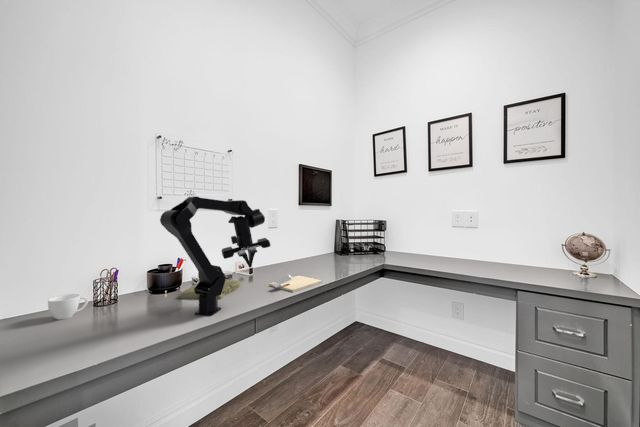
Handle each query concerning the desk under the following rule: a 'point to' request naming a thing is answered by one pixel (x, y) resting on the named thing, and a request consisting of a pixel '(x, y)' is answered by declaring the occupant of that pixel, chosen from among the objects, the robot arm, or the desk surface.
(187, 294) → the olive green cushion
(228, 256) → the robot arm
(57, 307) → the cup
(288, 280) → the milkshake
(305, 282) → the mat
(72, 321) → the desk surface
